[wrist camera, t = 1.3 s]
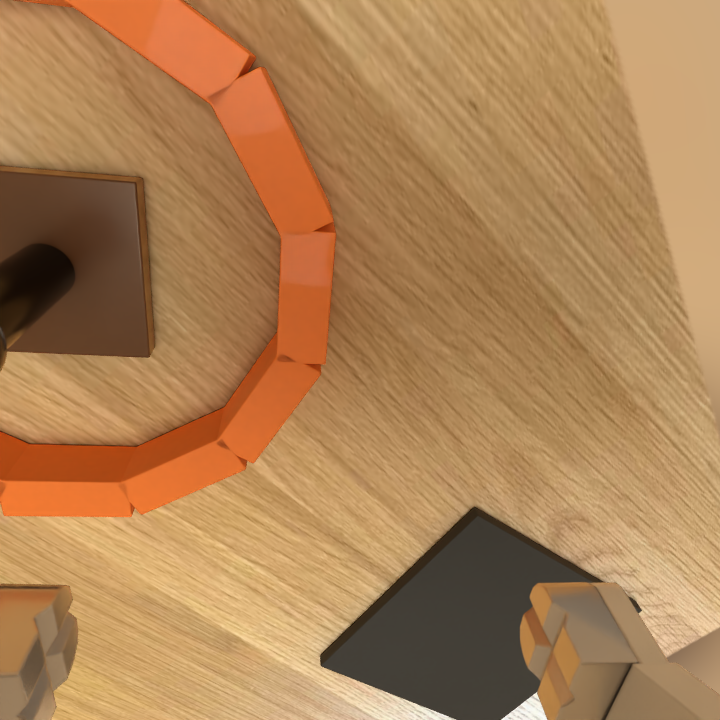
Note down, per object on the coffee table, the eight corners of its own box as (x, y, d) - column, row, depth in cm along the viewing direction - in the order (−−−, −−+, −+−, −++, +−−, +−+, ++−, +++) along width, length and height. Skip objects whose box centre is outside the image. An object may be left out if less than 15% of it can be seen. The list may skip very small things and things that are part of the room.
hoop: (-160, 474, 29) (-207, 514, 26) (-399, -129, 18) (-521, -165, 15) (312, 481, 32) (312, 518, 29) (350, -27, 21) (358, -42, 18)
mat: (474, 506, 34) (478, 515, 33) (636, 601, 39) (642, 610, 39) (319, 655, 39) (320, 666, 38) (483, 721, 44) (486, 731, 44)
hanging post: (-22, 339, 26) (-198, 483, 17) (-63, 160, 22) (-314, 218, 13) (155, 347, 27) (81, 487, 18) (143, 177, 24) (42, 242, 14)
